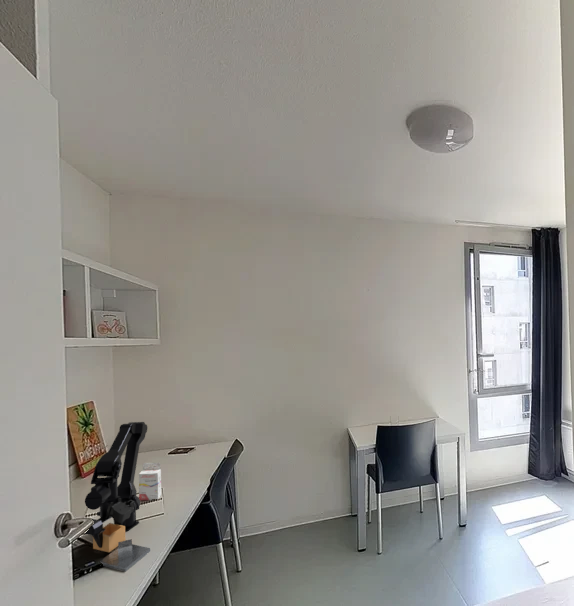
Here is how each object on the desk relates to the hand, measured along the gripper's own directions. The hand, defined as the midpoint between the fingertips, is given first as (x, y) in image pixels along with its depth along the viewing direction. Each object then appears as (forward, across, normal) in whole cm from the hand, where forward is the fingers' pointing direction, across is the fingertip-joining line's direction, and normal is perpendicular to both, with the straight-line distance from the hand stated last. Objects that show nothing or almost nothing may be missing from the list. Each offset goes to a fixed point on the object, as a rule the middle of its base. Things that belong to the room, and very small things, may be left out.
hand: (109, 541), depth 131 cm
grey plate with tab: (+2, -3, -10) cm, 11 cm away
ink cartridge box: (+2, +35, +13) cm, 37 cm away
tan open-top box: (+1, 0, +1) cm, 2 cm away
